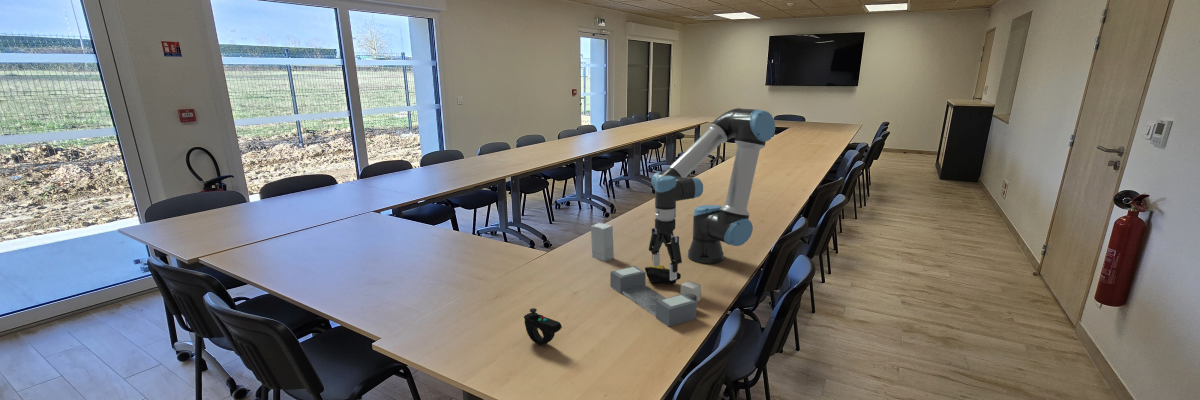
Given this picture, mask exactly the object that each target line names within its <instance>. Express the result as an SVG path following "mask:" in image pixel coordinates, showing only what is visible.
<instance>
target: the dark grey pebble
mask: <svg viewBox="0 0 1200 400" xmlns="http://www.w3.org/2000/svg"><path fill="white" fill-rule="evenodd" d="M686 296H687V297H689V298H691V299H693V300H694V301H696V302H697V296H696V295H694V294H686ZM697 303H698V302H697Z"/></svg>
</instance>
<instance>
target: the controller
mask: <svg viewBox="0 0 1200 400" xmlns="http://www.w3.org/2000/svg"><path fill="white" fill-rule="evenodd" d="M537 311H538V310H537V308H535V307H534V308H533V307H532V308H530V309H529V313H527V314H525V315H524V316H523V319H524V321H523V322H524V326H525V331H526V333H527V335H528V337H529V339H530V340H531V341H532V342H533V343H535V344H537V345H541V346H542V345H543V346H544V345H547V344H548V343H550V342H551V341H553V339H554V338H555V334H556V333H557V332H559V331H560V330H562V328H563V327H562V324H561V322H559V321H558V320H554V319H552V318H548V317H546V316H544V315H543V314H540V313H537ZM539 330H540V331H541V333H542V335H541V334H540V332H539Z"/></svg>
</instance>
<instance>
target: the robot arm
mask: <svg viewBox="0 0 1200 400" xmlns="http://www.w3.org/2000/svg"><path fill="white" fill-rule="evenodd" d="M775 131H776V122H775V119H774V116H773V115H772V113H770V112H769V111H766V110H762V109H757V108H755V109H751V108H740V107H739V108H738V107H737V108H733V109H730V110H728V111H726V112H724V113H723V114H721V115H720V116H718V117H717V118H715V120H713V121H712V122H711V123H710V124H709V125H708V127H707V130H706V131H705V132H704V133H703V134H702V135H701V136H700V137H699V138H698V139H697V140H696V141H694V142H693V144H692V145H690V146H689V148H687V149H686V150H685V151H684V152H683V153H682V154H681V155H680V156H679V157H678V158H677V159H676V160H675V161H674V162H672V163H671V165H670V166H668V167H667V168H666V169H665V170H664V171H658V172H655V173H654V174H653V175H652V177H651V180H650V181H651V186H652V188H653V189H654V208H655V209H654V217H655V219H654V227H653V228H651V236H650V241H649V246H648V251H649V252H651V254H652V255H651V257H652V260H651V261H652V267H657V266H658V265H661V263H660V262H661V261H660V260H661V259H660V258H661V254H660V250H661V247H662V245H663V244H664V246H665V247H666V249H667V253H668V256H669V259H670V262H671V263H669V269H670V281H672V280H676V279H677V272H678V270H679V269H678V265H680V264H682V263H683V261H682V254H681V247H680V237H679V235H677V236H675V235H674V230H675V229H676V217H677V209H676V208H677V207H676V206H677V202H680V201H685V200H692V199H693V200H694V199H695V198H699V197H700V196H702V195H703V192H704V184H703V182H702V180H701V179H700V178H698V177H690V178H687V176H688V175H690V174H691V172H693V171H694V170H695V169H696V168H697V167H698V166H699V165H700V164H701V163H702V162H703V161H704V160H706V158H707V157H708V156H710V155H711V153H712V152H713V151H714V150H716V149H717V148H718V147H719V145H722V144H725V143H726V142H728V141H729V140H730V139H732V138H734V143H735V144H736V153H735V156H734V157H735V158H734V162H733V165H732V166H733V167H732V171H731V176H730V179H729V185H728V189H727V193H726V197H725V198H726V199H725V204H724V205H722V206H721V205H717V204H705V205H704V204H703V205H698V206H696V207H695V208H694V211H693V220H692V222H693V223H692V224H693V226H692V240H691V244H690V247H689V249H688V251H687V258H688V259H689V260H690V261H693V262H696V263H699V264H718V263H721V262H722V261H723V260H724V258H725V257H724V251H723V247H722V243H721V242H723V243H725V244H727V245H729V246H730V245H731V246H734V247H740V246H742V245H744V244H746V242H748V241H749V240H750V238H751V236H752V234H753V230H754V228H753V223H752V222H751V220H750V219H749V218H750V213H749V211H748V204H749V199H750V196H751V191H752V187H753V182H754V177H755V173H756V169H757V164H758V160H759V155H760V151H761V150H762V149H764V148H765V146H766V143H767V142H768V141H770V140H772V138H773V137H774V135H775ZM676 281H677V280H676Z"/></svg>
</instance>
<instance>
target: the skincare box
mask: <svg viewBox="0 0 1200 400" xmlns="http://www.w3.org/2000/svg"><path fill="white" fill-rule="evenodd" d="M613 231H614V230H613V225H609V224H607V223H602V222H598V223H596V224H592V225H591V226H590V235H591V236H590V237H591V238H590V239H591V256H592V257H591V258H593V259H597V260H600V261H601V262H602V261H603V262H607V261H610V260H613V259H614V257H615V253H614V252H615V251H614V232H613Z"/></svg>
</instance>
